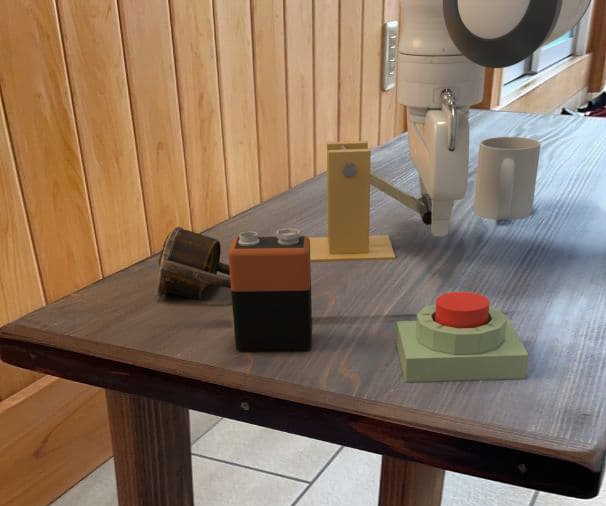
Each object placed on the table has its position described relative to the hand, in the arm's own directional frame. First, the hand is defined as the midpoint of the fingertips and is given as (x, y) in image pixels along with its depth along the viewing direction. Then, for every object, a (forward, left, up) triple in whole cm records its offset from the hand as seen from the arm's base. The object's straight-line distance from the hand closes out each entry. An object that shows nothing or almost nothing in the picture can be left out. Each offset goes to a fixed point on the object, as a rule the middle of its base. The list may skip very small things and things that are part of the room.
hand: (433, 222), depth 95 cm
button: (+2, +29, 0) cm, 29 cm away
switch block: (+2, +29, -4) cm, 29 cm away
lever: (+6, 0, +3) cm, 7 cm away
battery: (+18, +24, -4) cm, 30 cm away
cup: (-10, -12, -4) cm, 16 cm away
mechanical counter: (+24, +13, -4) cm, 27 cm away
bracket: (+10, 0, -4) cm, 10 cm away
